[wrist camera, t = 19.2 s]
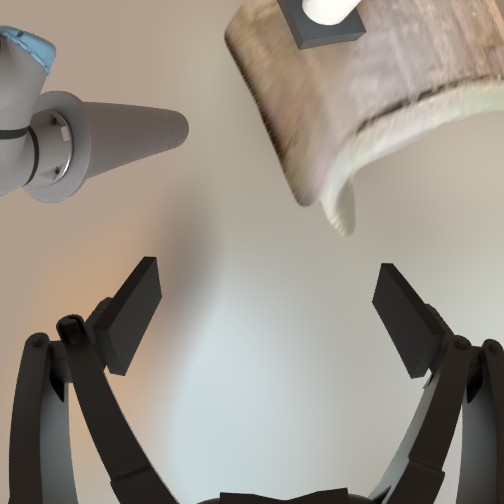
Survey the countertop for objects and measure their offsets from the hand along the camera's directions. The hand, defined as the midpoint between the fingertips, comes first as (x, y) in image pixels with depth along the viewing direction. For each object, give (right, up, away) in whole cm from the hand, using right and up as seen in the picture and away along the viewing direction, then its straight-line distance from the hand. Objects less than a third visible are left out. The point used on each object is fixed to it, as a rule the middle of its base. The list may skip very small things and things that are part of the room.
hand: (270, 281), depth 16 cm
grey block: (+9, +38, +17) cm, 43 cm away
